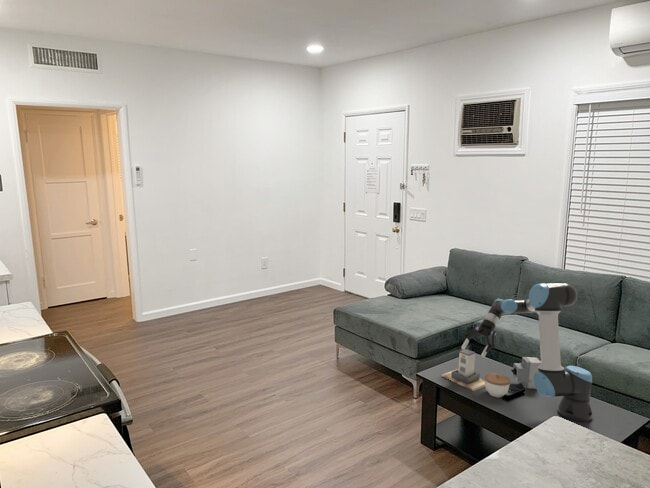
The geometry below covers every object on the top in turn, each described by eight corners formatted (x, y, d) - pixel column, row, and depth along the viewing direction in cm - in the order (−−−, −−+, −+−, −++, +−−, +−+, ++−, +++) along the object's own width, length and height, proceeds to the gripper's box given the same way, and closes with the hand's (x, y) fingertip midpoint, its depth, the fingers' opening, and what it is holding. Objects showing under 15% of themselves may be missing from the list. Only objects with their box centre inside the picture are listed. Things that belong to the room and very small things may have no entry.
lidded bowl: (514, 398, 245) (515, 378, 244) (493, 401, 241) (495, 381, 240) (498, 387, 257) (499, 368, 255) (478, 390, 253) (480, 371, 252)
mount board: (489, 384, 260) (489, 382, 260) (473, 391, 252) (473, 389, 252) (457, 370, 278) (457, 369, 278) (441, 376, 270) (441, 374, 270)
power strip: (473, 379, 264) (475, 352, 262) (466, 382, 260) (467, 354, 258) (464, 375, 269) (466, 348, 267) (457, 378, 265) (459, 351, 263)
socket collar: (479, 379, 264) (479, 373, 263) (467, 384, 257) (467, 378, 257) (463, 372, 272) (464, 367, 272) (451, 377, 266) (451, 371, 266)
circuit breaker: (509, 381, 265) (511, 356, 262) (534, 382, 264) (537, 357, 262) (513, 387, 257) (516, 361, 255) (540, 388, 257) (542, 362, 254)
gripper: (511, 332, 265) (493, 363, 258) (474, 320, 285) (457, 349, 278) (506, 324, 261) (488, 356, 254) (469, 313, 281) (451, 342, 274)
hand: (472, 352), depth 266 cm, fingers open, 13 cm apart
